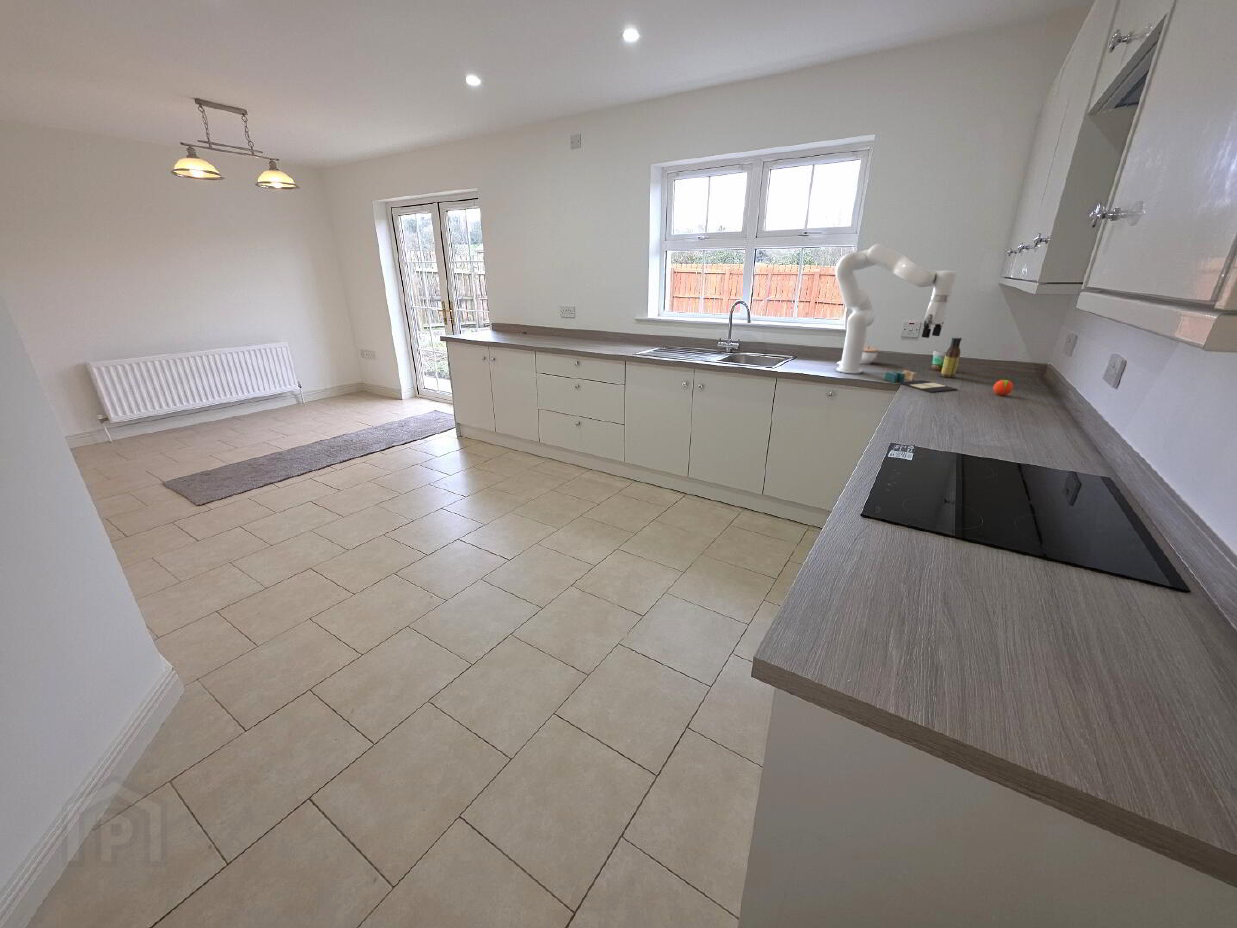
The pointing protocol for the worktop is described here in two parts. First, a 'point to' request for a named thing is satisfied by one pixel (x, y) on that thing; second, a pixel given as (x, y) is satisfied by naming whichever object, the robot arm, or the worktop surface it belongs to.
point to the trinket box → (869, 355)
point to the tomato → (1003, 387)
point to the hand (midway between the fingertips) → (930, 336)
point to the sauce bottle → (951, 358)
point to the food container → (938, 360)
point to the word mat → (927, 386)
